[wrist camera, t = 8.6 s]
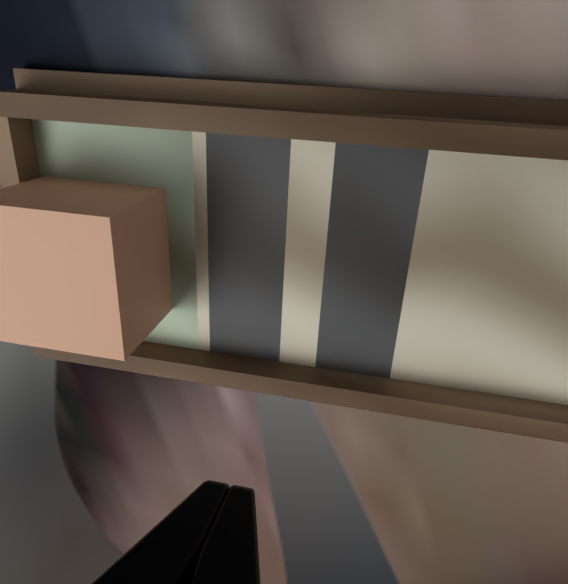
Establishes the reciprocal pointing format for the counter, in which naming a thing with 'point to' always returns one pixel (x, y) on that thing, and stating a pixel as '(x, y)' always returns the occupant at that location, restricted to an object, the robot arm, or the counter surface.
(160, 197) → the terracotta block
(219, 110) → the trap lane
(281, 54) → the counter surface
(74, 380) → the counter surface
